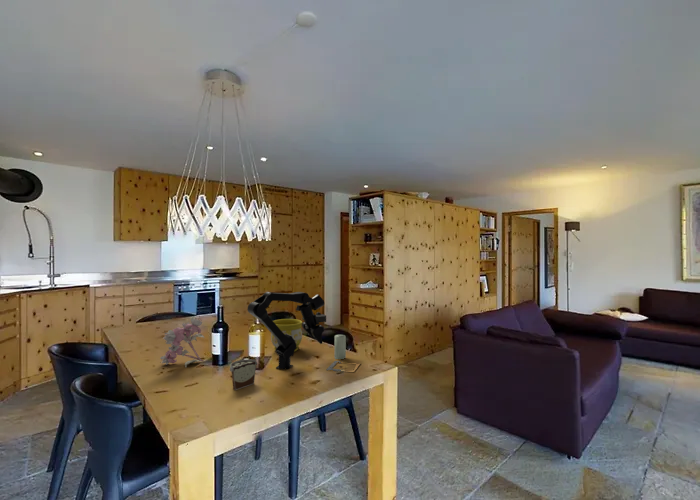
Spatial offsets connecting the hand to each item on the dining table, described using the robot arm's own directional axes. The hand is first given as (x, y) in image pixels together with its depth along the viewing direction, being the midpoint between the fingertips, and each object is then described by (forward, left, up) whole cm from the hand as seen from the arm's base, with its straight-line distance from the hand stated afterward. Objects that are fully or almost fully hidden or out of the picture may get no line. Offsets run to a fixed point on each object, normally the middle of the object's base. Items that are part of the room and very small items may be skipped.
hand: (318, 341), depth 187 cm
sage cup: (+7, -10, -10) cm, 16 cm away
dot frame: (-6, -16, -10) cm, 20 cm away
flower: (-26, +65, -10) cm, 71 cm away
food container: (-41, +20, -10) cm, 47 cm away
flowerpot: (+13, +24, -10) cm, 30 cm away
